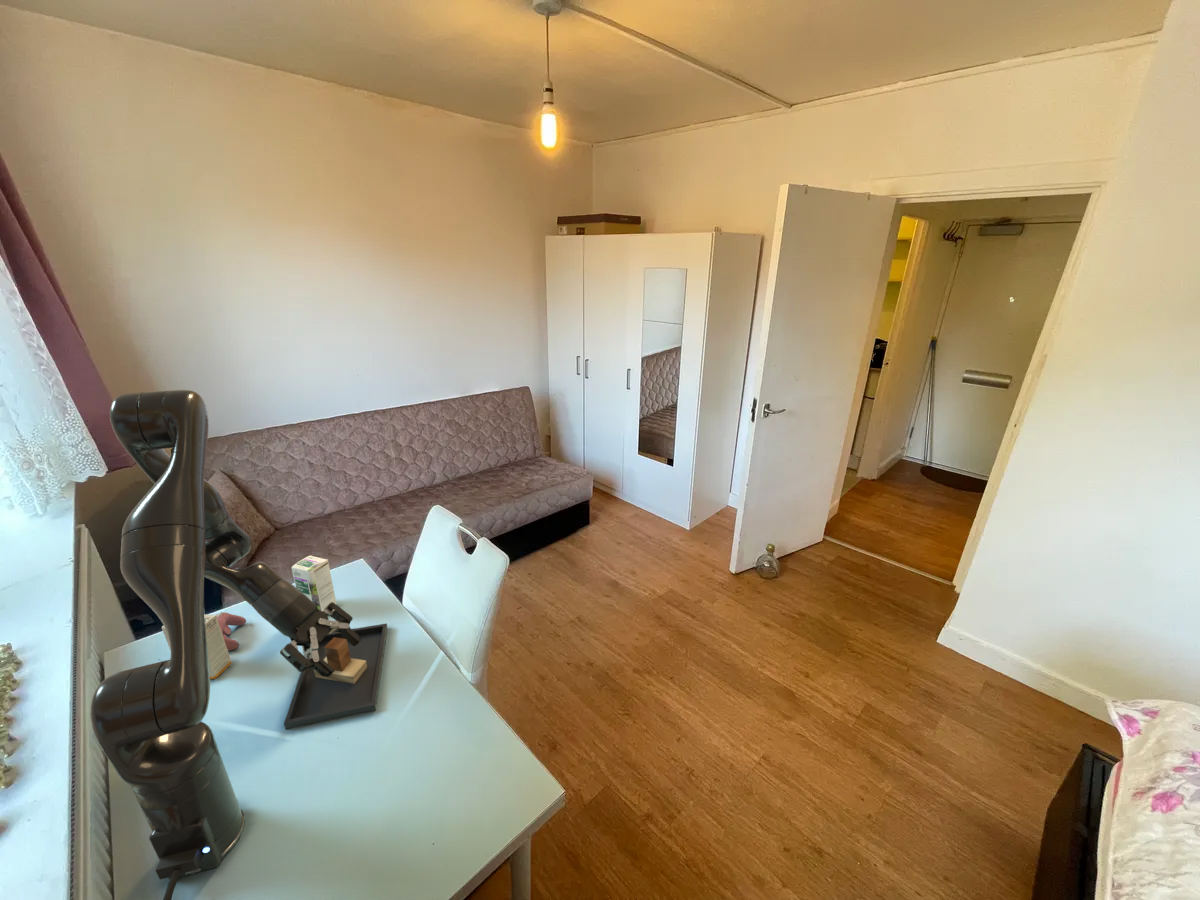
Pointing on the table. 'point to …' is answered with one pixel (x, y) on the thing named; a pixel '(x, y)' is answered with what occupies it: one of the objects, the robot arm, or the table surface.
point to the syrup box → (314, 580)
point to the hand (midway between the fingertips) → (345, 658)
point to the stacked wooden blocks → (342, 662)
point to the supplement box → (213, 646)
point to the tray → (340, 683)
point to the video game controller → (226, 620)
